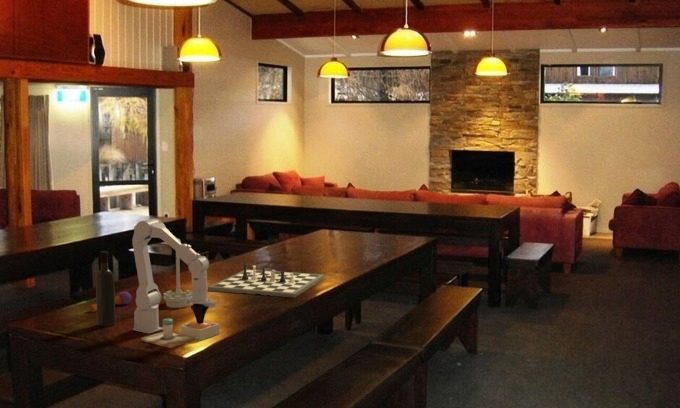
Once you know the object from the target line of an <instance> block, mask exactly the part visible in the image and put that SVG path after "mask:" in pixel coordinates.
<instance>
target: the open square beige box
mask: <svg viewBox="0 0 680 408" xmlns="http://www.w3.org/2000/svg"><path fill="white" fill-rule="evenodd" d="M189 323H190V322H188V323H185V324H182V325H180V335H184V336H188V337H192V338H194V340H197V341H203V340H206V339H209V338H212V337H214V336H215V337H216V336H218V335H220V333H221V332H220V331H221V330H220V329H221V327H220V323H217V322H211V326H210V327H207V328H204V329H195V328H191V327H189Z"/></svg>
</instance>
